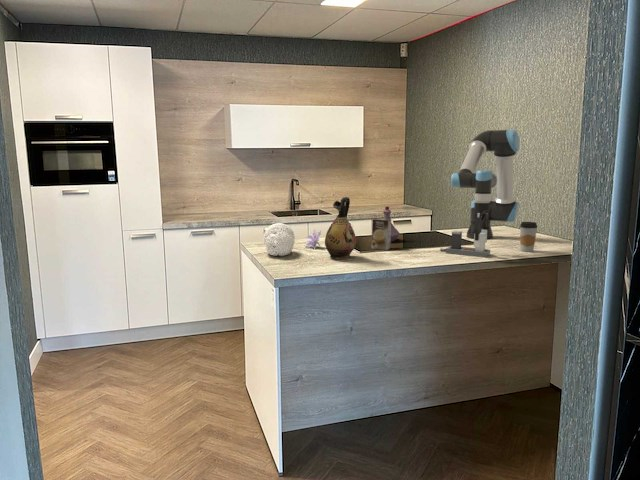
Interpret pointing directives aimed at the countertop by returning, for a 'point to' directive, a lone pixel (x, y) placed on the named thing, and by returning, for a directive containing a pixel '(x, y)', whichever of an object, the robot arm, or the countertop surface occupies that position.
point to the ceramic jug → (340, 233)
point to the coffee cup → (527, 236)
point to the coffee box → (381, 233)
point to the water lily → (313, 239)
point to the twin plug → (456, 240)
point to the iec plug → (481, 243)
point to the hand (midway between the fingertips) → (480, 244)
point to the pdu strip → (466, 252)
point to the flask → (393, 230)
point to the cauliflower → (279, 239)
